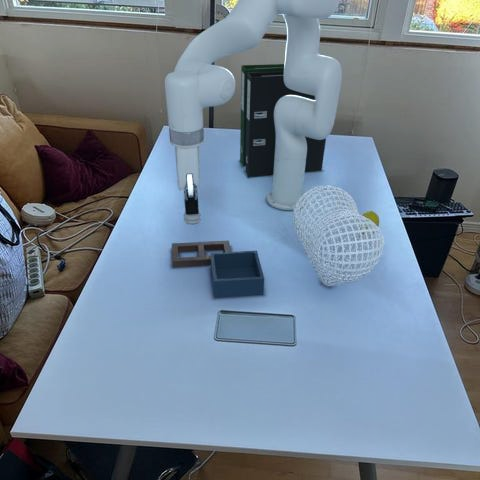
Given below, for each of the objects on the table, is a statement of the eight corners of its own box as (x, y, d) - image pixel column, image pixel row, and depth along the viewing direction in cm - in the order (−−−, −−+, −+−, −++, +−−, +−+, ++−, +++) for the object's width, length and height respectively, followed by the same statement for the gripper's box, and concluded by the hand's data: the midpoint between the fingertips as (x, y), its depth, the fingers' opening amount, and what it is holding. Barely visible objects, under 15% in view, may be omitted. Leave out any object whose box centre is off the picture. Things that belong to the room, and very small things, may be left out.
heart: (280, 256, 127) (287, 178, 112) (333, 249, 130) (347, 173, 115) (317, 324, 107) (331, 240, 92) (379, 314, 110) (403, 232, 95)
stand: (172, 249, 128) (171, 243, 127) (228, 246, 130) (228, 240, 129) (172, 267, 122) (172, 261, 121) (232, 264, 124) (232, 258, 122)
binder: (310, 155, 177) (321, 62, 156) (322, 172, 167) (336, 74, 145) (240, 160, 173) (241, 65, 152) (248, 178, 162) (251, 78, 141)
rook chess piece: (204, 218, 118) (203, 188, 113) (196, 226, 115) (195, 196, 110) (188, 214, 119) (186, 185, 114) (180, 223, 116) (178, 193, 111)
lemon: (375, 242, 133) (382, 217, 128) (356, 239, 134) (361, 214, 128) (375, 232, 137) (381, 207, 132) (356, 230, 138) (361, 205, 132)
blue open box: (210, 269, 122) (210, 252, 118) (256, 266, 123) (256, 250, 120) (214, 298, 113) (213, 281, 110) (263, 295, 114) (264, 278, 111)
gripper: (169, 121, 108) (176, 194, 121) (169, 150, 96) (177, 228, 109) (201, 120, 109) (205, 193, 121) (205, 149, 97) (209, 226, 109)
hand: (191, 208), depth 115 cm, fingers closed on rook chess piece, 3 cm apart
